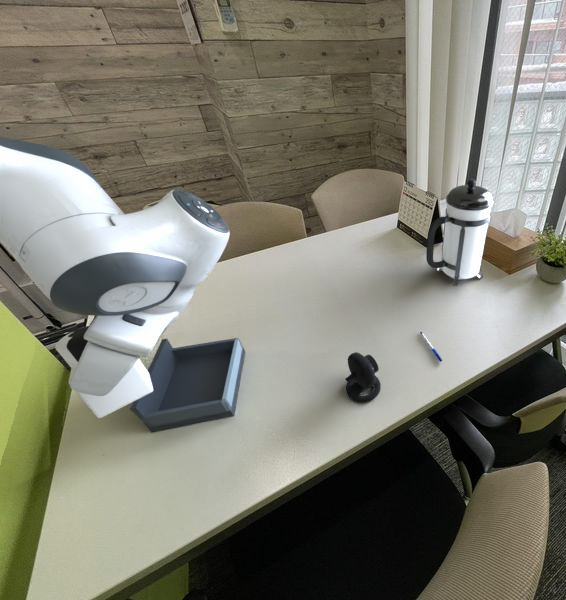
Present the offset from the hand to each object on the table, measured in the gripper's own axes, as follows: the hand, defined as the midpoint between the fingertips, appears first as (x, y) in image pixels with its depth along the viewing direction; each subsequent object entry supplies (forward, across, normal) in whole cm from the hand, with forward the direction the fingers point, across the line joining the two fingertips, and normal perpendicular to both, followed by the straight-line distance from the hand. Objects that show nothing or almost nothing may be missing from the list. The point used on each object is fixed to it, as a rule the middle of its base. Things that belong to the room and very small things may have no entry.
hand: (106, 358), depth 48 cm
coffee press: (-35, -37, +67) cm, 85 cm away
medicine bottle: (+5, +2, +5) cm, 7 cm away
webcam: (-11, -2, +42) cm, 43 cm away
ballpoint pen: (-23, -10, +54) cm, 60 cm away
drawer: (+13, -10, +18) cm, 24 cm away
